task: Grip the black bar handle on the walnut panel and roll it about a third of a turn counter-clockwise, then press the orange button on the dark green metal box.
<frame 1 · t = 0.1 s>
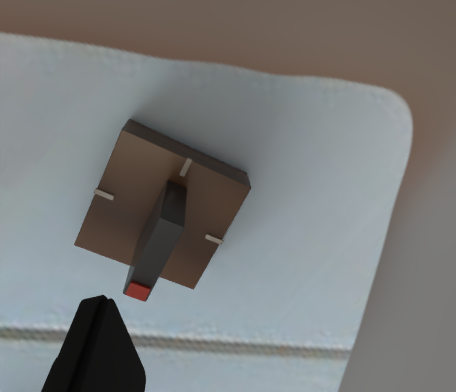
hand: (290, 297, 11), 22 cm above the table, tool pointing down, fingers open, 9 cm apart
panel: (164, 200, 33), on the table
handle: (157, 238, 27), point 6 cm above the table, hinge at 0.0°
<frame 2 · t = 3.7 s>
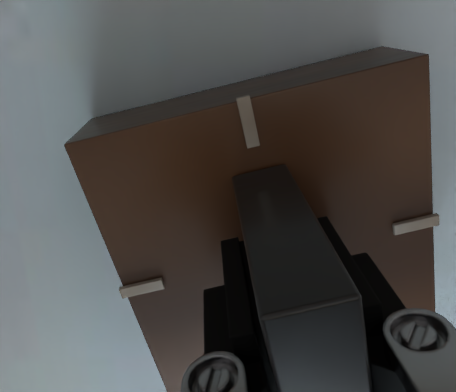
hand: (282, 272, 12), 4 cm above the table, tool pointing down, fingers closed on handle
panel: (263, 213, 16), on the table
handle: (299, 324, 10), point 6 cm above the table, hinge at 0.0°, touching gripper
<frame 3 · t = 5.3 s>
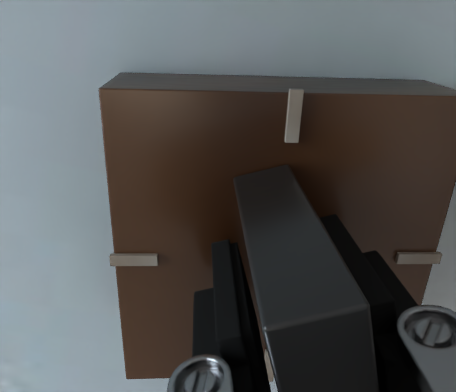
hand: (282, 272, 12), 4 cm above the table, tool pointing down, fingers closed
panel: (265, 213, 15), on the table
handle: (302, 330, 10), point 6 cm above the table, hinge at 105.2°
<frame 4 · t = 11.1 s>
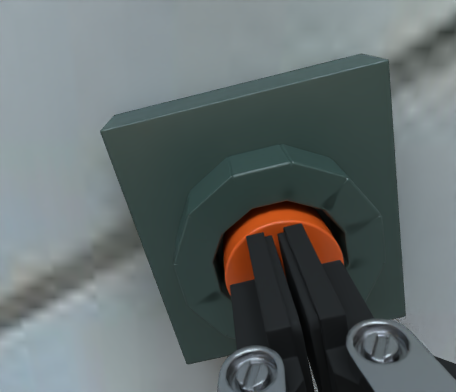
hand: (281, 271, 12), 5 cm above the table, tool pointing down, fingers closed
button: (280, 258, 13), point 4 cm above the table, slide at -0.7 cm, touching gripper
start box: (263, 208, 16), on the table
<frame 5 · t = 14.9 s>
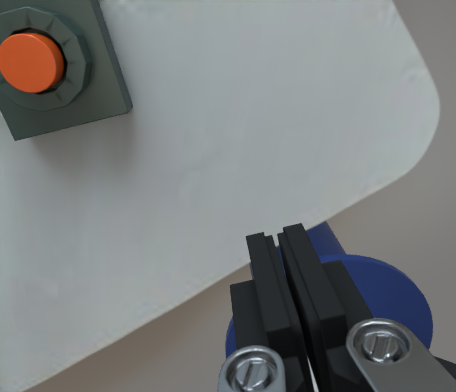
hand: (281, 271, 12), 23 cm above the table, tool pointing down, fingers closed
button: (32, 62, 27), point 4 cm above the table, slide at 0.1 cm
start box: (54, 56, 31), on the table
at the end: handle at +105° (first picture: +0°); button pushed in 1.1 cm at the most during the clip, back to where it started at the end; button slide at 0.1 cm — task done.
